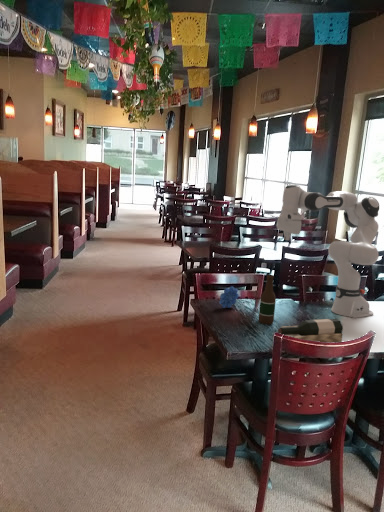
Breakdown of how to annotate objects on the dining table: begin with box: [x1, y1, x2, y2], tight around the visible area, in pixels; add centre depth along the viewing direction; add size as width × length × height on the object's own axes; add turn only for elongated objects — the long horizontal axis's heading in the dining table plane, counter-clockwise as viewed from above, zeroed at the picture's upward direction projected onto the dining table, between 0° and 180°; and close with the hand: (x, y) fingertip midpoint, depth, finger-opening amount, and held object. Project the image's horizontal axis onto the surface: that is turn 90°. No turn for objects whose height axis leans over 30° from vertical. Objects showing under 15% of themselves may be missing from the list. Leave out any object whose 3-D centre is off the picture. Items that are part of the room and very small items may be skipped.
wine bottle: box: [277, 318, 344, 336], centre depth 191 cm, size 8×8×30 cm
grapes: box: [219, 285, 239, 309], centre depth 228 cm, size 12×7×12 cm, turn 116°
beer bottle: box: [257, 274, 277, 325], centre depth 208 cm, size 8×8×24 cm
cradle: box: [283, 325, 343, 343], centre depth 192 cm, size 24×13×4 cm, turn 107°
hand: (286, 239), depth 233 cm, fingers closed
